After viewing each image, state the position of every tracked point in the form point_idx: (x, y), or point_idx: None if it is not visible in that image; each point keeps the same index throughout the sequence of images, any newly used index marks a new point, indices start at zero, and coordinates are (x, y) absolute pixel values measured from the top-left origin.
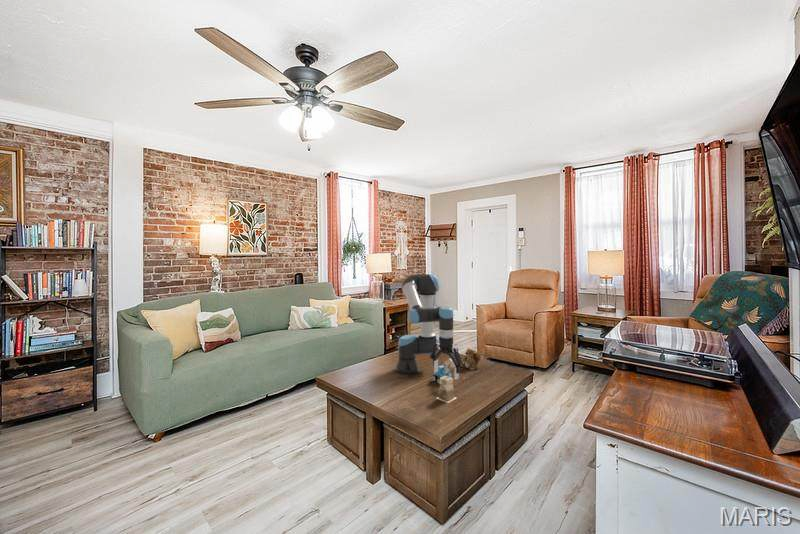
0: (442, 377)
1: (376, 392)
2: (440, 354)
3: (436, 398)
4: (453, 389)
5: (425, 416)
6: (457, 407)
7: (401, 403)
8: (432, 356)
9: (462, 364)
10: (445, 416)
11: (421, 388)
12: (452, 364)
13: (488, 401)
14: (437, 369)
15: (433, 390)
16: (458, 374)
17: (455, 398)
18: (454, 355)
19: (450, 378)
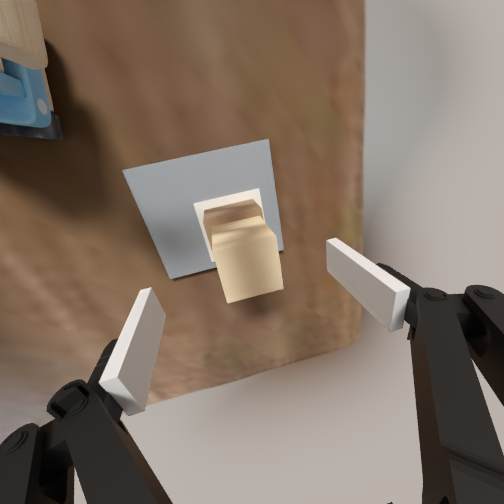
0: (226, 284)
1: (48, 390)
2: (151, 487)
3: (214, 261)
4: (262, 215)
5: (279, 332)
6: (302, 229)
7: (173, 355)
8: (71, 485)
9: (500, 304)
10: (314, 292)
11: (68, 247)
12: (33, 35)
13: (360, 67)
14: (150, 305)
15: (117, 212)
16: (352, 250)
17: (259, 197)
18: (494, 439)
19: (270, 253)
